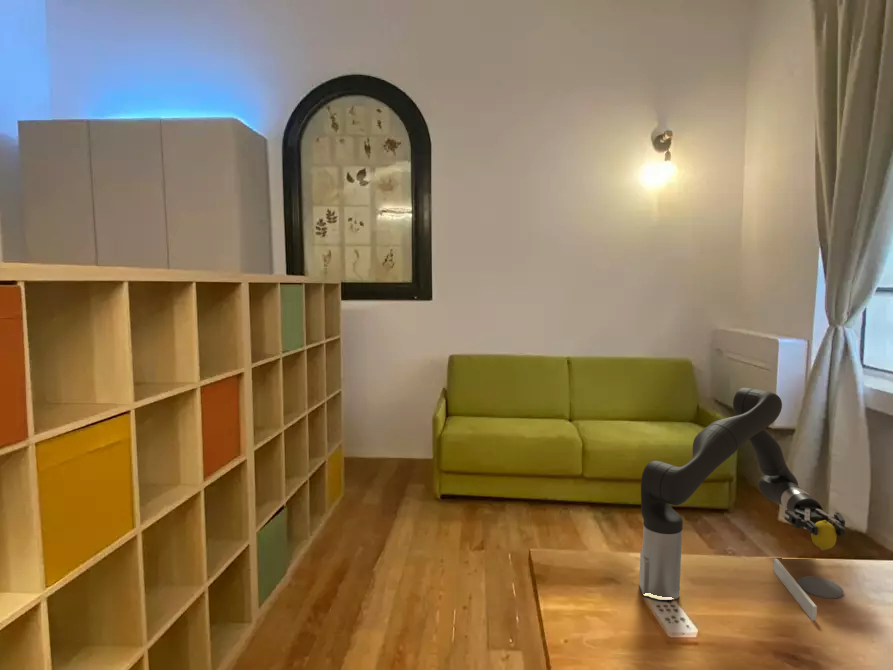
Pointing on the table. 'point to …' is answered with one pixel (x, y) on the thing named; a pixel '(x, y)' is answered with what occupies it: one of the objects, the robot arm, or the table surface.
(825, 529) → the lemon
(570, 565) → the table surface
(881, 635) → the table surface
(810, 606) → the low wall
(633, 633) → the table surface
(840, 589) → the slate mat
